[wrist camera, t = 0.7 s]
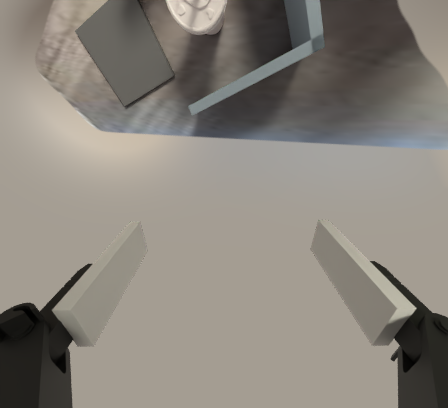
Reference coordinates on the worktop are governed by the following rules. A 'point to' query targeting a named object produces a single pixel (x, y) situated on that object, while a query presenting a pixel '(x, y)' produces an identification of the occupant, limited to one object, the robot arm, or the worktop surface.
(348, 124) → the worktop surface
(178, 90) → the worktop surface
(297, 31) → the open frame
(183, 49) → the worktop surface
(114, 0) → the mat
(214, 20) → the smoothie
